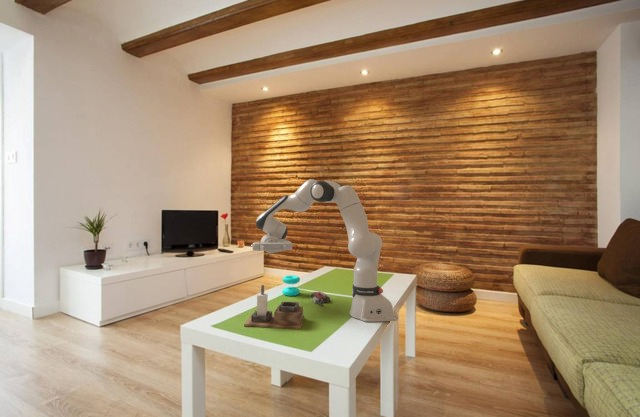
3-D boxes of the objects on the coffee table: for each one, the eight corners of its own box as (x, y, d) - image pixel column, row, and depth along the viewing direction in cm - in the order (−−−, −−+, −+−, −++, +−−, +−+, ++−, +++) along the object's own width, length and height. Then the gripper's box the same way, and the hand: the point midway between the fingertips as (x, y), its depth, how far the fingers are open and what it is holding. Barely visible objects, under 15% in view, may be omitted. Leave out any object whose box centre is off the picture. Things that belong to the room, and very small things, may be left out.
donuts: (279, 278, 180) (286, 274, 190) (279, 295, 180) (286, 291, 190) (296, 279, 177) (302, 275, 187) (296, 297, 177) (302, 292, 187)
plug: (267, 317, 142) (267, 283, 142) (265, 321, 138) (266, 286, 137) (258, 317, 142) (258, 283, 142) (256, 321, 137) (257, 286, 137)
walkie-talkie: (307, 297, 178) (320, 308, 160) (307, 289, 178) (321, 300, 160) (321, 296, 182) (336, 307, 163) (321, 288, 182) (336, 298, 163)
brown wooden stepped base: (304, 317, 145) (304, 300, 145) (300, 329, 132) (300, 309, 132) (252, 315, 147) (252, 298, 147) (244, 326, 134) (244, 307, 134)
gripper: (250, 239, 167) (252, 242, 154) (289, 238, 173) (294, 241, 159) (250, 251, 167) (252, 255, 154) (289, 250, 173) (294, 254, 160)
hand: (274, 248), depth 157 cm, fingers open, 8 cm apart
